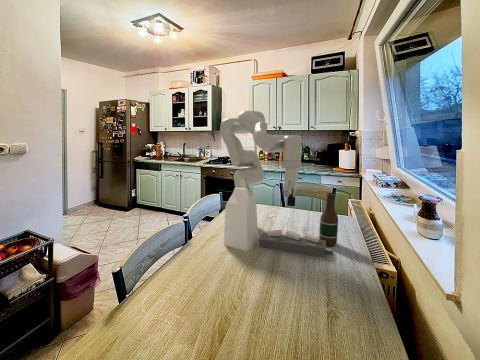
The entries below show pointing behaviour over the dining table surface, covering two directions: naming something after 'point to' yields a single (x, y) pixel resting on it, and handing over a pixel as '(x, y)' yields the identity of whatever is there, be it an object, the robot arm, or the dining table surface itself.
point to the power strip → (293, 245)
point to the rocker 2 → (311, 237)
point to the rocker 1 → (274, 232)
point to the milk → (240, 220)
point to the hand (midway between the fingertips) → (291, 205)
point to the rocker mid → (292, 235)
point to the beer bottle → (329, 222)
